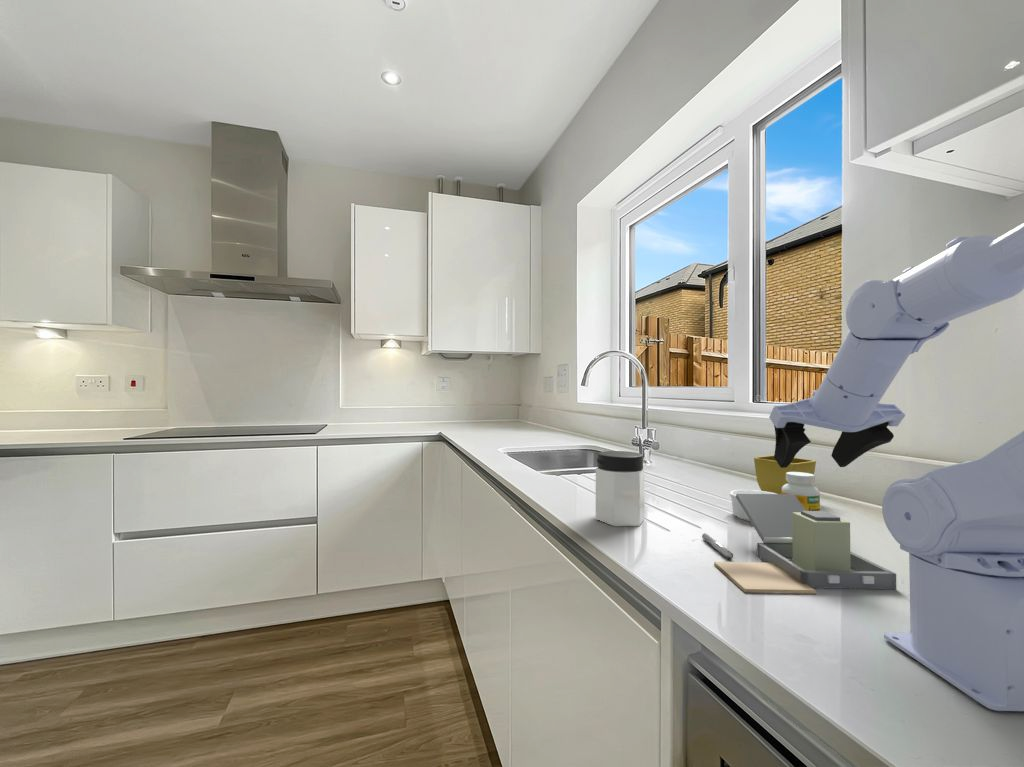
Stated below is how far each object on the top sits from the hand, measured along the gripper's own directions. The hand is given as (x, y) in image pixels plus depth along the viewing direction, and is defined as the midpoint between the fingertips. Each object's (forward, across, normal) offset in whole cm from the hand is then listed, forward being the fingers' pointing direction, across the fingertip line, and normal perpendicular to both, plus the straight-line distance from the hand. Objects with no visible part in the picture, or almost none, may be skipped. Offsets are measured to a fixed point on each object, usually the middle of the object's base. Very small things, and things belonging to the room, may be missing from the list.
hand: (808, 461), depth 57 cm
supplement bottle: (+21, -8, -3) cm, 22 cm away
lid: (+15, 0, +3) cm, 16 cm away
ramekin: (+26, -5, -9) cm, 28 cm away
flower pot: (+34, -18, -19) cm, 43 cm away
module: (+10, 0, +10) cm, 14 cm away
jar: (+23, +21, -7) cm, 32 cm away
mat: (+8, +9, +12) cm, 17 cm away
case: (+10, 0, +10) cm, 14 cm away
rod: (+14, +10, +4) cm, 18 cm away
